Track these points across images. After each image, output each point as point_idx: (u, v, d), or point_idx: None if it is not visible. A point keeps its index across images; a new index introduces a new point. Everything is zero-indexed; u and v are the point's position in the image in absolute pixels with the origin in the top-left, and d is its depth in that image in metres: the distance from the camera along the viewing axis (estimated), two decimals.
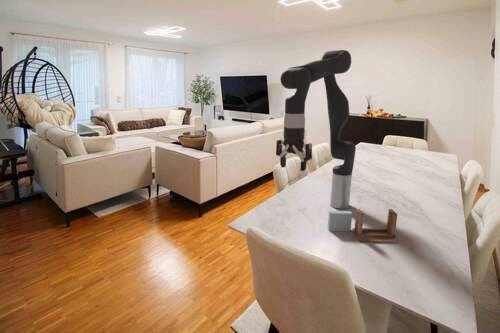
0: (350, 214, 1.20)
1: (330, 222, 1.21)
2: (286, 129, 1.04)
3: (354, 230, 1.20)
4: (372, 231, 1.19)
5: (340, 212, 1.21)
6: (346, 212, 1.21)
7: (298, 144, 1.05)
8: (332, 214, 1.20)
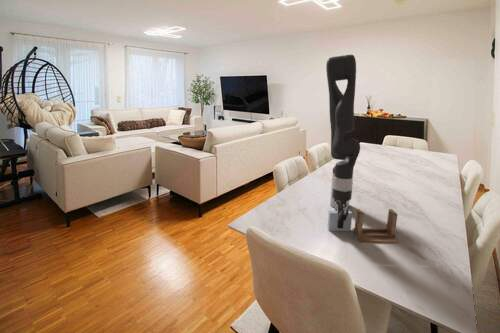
0: (350, 214, 1.20)
1: (330, 222, 1.21)
2: (351, 190, 1.18)
3: (354, 230, 1.20)
4: (372, 231, 1.19)
5: None
6: None
7: None
8: (332, 214, 1.20)
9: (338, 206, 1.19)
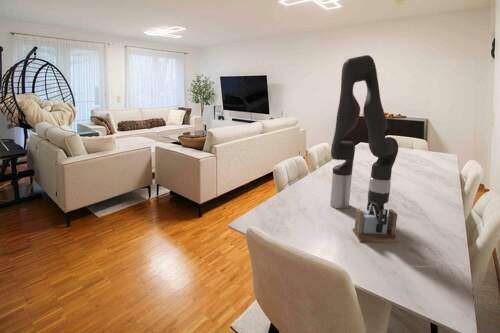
0: None
1: (364, 227, 1.15)
2: None
3: (354, 230, 1.20)
4: None
5: None
6: None
7: None
8: (367, 218, 1.15)
9: (375, 208, 1.13)
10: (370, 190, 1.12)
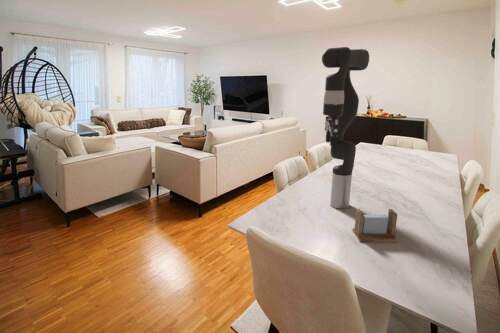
0: (386, 218, 1.14)
1: (364, 227, 1.15)
2: (343, 105, 1.12)
3: (354, 230, 1.20)
4: None
5: (375, 216, 1.15)
6: (381, 217, 1.15)
7: None
8: (367, 218, 1.15)
9: (329, 121, 1.13)
10: (324, 103, 1.13)
